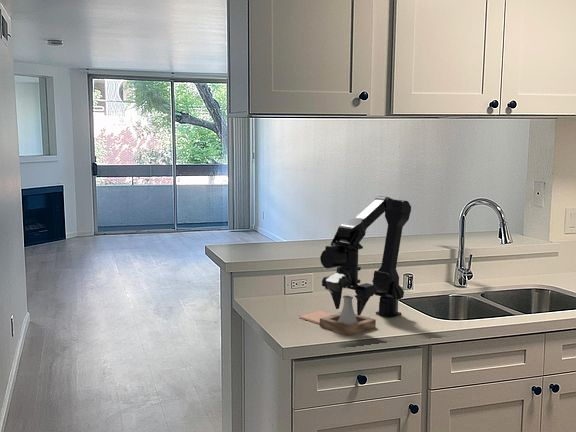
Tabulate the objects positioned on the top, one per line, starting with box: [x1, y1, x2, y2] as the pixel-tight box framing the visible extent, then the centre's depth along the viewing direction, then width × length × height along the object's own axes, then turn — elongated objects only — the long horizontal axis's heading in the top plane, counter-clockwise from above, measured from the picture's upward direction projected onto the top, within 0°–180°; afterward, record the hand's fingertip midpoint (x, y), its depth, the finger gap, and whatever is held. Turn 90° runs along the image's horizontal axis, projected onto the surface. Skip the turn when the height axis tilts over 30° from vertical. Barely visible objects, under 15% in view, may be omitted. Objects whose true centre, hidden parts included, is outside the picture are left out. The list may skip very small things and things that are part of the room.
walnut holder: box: [319, 312, 377, 336], centre depth 196 cm, size 13×13×2 cm
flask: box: [338, 294, 357, 325], centre depth 195 cm, size 7×7×10 cm
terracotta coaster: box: [299, 310, 334, 325], centre depth 205 cm, size 10×10×1 cm
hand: (348, 311), depth 195 cm, fingers open, 9 cm apart
